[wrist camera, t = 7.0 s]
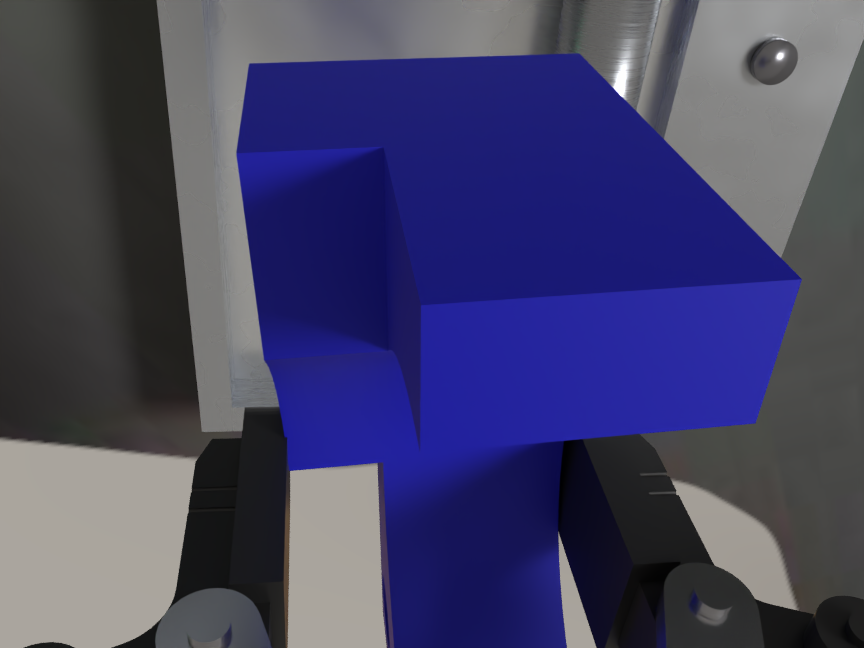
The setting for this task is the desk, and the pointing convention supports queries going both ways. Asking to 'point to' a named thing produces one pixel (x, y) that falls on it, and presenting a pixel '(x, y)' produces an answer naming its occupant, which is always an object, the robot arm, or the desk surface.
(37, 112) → the desk surface
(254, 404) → the hinge plate
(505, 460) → the blue stepped long block
